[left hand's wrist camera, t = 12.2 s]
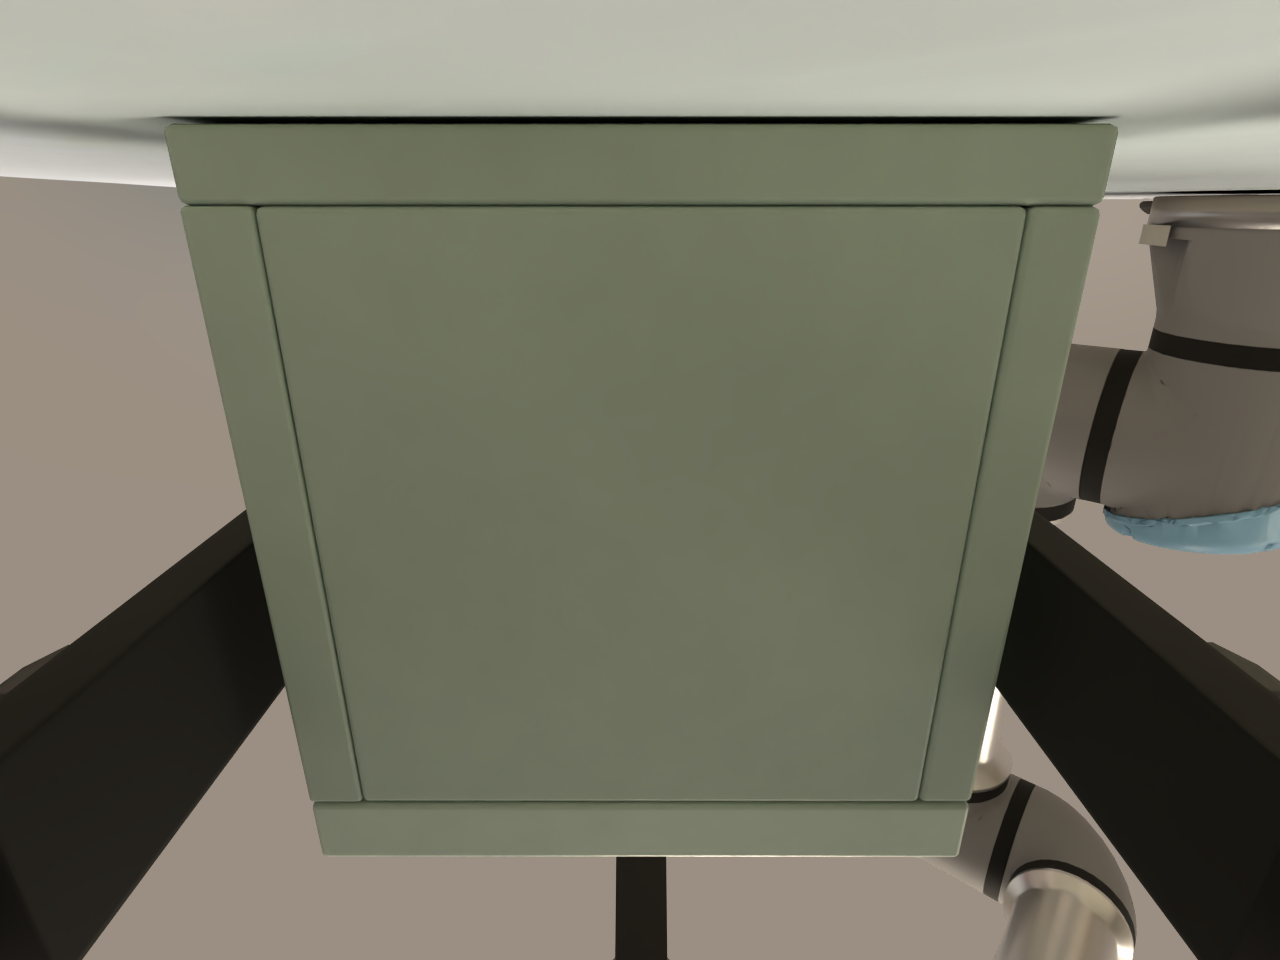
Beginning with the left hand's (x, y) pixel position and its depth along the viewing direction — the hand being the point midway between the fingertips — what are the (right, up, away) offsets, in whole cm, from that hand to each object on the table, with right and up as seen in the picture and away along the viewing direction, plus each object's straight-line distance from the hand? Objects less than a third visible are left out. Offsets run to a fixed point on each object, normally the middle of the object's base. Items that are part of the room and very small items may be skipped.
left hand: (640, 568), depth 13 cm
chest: (0, +8, +1) cm, 8 cm away
